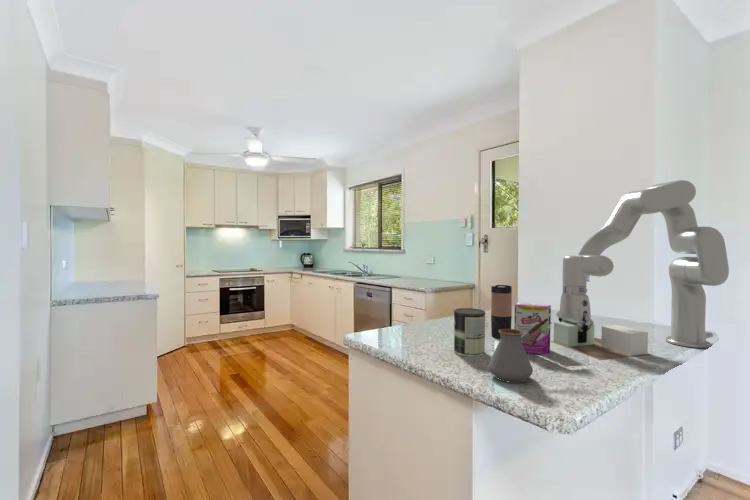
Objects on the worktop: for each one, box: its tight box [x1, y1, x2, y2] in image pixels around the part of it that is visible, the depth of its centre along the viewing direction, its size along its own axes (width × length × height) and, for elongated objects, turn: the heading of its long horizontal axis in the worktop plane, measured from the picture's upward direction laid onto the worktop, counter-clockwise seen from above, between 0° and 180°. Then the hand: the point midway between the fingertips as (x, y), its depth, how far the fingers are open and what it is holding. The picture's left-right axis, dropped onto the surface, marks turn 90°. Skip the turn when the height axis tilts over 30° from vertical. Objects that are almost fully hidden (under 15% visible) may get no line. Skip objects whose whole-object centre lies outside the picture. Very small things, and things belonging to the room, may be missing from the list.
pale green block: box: [553, 321, 596, 347], centre depth 134 cm, size 11×7×7 cm, turn 105°
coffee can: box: [453, 307, 486, 358], centre depth 126 cm, size 10×10×14 cm
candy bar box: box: [513, 301, 552, 356], centre depth 125 cm, size 11×5×16 cm, turn 65°
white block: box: [600, 324, 649, 356], centre depth 125 cm, size 11×7×7 cm, turn 15°
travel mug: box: [490, 284, 513, 340], centre depth 146 cm, size 8×8×20 cm
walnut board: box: [550, 337, 653, 361], centre depth 128 cm, size 20×22×1 cm
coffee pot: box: [488, 318, 553, 383], centre depth 105 cm, size 21×12×15 cm, turn 117°
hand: (573, 339), depth 134 cm, fingers closed on pale green block, 7 cm apart
